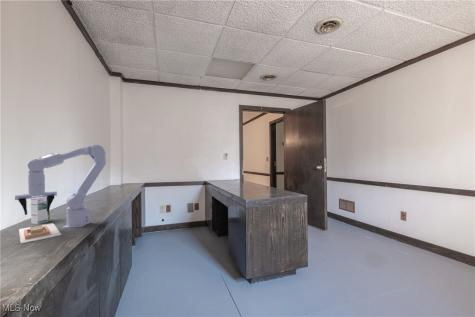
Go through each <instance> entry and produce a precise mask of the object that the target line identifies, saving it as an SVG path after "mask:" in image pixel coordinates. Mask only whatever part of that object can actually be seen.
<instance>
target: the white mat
mask: <svg viewBox="0 0 475 317" xmlns="http://www.w3.org/2000/svg"><path fill="white" fill-rule="evenodd" d="M42 226H47V227H48V229H49V231H50V235H45V236H40V237H35V238H31V239H26V240H25V236H24V230H26V229H30V226H29V227H23V228H19V229H18V232H19V240H20V245H24V244H27V243H32V242H37V241H41V240H47V239H50V238H55V237H60V236H62V233H61V232H60V230H59V229H58V228H57V227H56V224H54V223H53V222H51V223H45V224H42ZM43 232H45V230H43ZM28 235H31V234H30V233H28Z"/></svg>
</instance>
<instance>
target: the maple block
mask: <svg viewBox="0 0 475 317" xmlns="http://www.w3.org/2000/svg"><path fill="white" fill-rule="evenodd" d="M42 225H43V223H40V224H35V225H31V226H29V227H30V234H36V233H41V232H43V226H42Z"/></svg>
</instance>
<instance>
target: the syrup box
mask: <svg viewBox="0 0 475 317" xmlns="http://www.w3.org/2000/svg"><path fill="white" fill-rule="evenodd" d="M47 197H48V196H47ZM47 197H38V198H30V219H31V221H30V223H31V224H35V225H41V224H44V223H47V222H51V220H50V218H51V216H50V210H49V211H48V212H47Z"/></svg>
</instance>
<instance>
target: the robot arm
mask: <svg viewBox="0 0 475 317" xmlns="http://www.w3.org/2000/svg"><path fill="white" fill-rule="evenodd" d="M82 155H83V156H90V157H91V159H92V160H93V162H94V163H93V165H92V167H91V168H90V169H89V171H88V173H87V175H85V177H84V179H83V180H82V181H81V183H80V184H79V186H78V187H77V188H76V190H75V191H74V192H73V194H71V195H70V196H69V197H67V198H66V203H67V205H68V207H66V225H63V226H62V229H64V228H78V227H79V228H81V227H84V226H86V225H88V224H91V220H90V219H91V215H90V214H91V213H90V209H89V208H88V207H84V200H85V198H86V197H87V194H88V192H89V190H90V189H91V187H92V186H93V184H94V183H95V181H96V180H97V178H98V177H99V175H100V173H101V172H102V170H103V169H104V167H105V166H106V162H107V161H106V150H105V149H104V147H103V146H101V145H100V144H94V145H89V146H83V147H80V148H77V149H74V150H71V151H68V152H65V153H62V154H61V153H59V152H56V153H55V152H52V153H50V154H48V155H45V156H39V157H38V158H33V159H32V160H30V161H29V162H28V163H27V168H28V173H27V174H28V176H27V178H28V179H27V180H28V181H27V184H28V187H27V188H28V189H27V190H28V193H27V194H18V195H14V200H15V201H18V202H19V204H20V205H21V207H22V209H23V212H24V216H26V215H28V209H27V208H28V205H27V199H28V200H29V199H31V198H38V197H47V196H48V197H47V212H48V211H49V212H50V207H51V205H52V203H53V201H54V199H55V197H57V196H58V192H57V191H46V186H45V185H46V183H45V182H46V179H45V170H44V169H50V168H53V167H56V166H59V165H61V164H62V165H63V163H64V162H65V161H66V160H69V159H71V158H76V157H78V156H82Z"/></svg>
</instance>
